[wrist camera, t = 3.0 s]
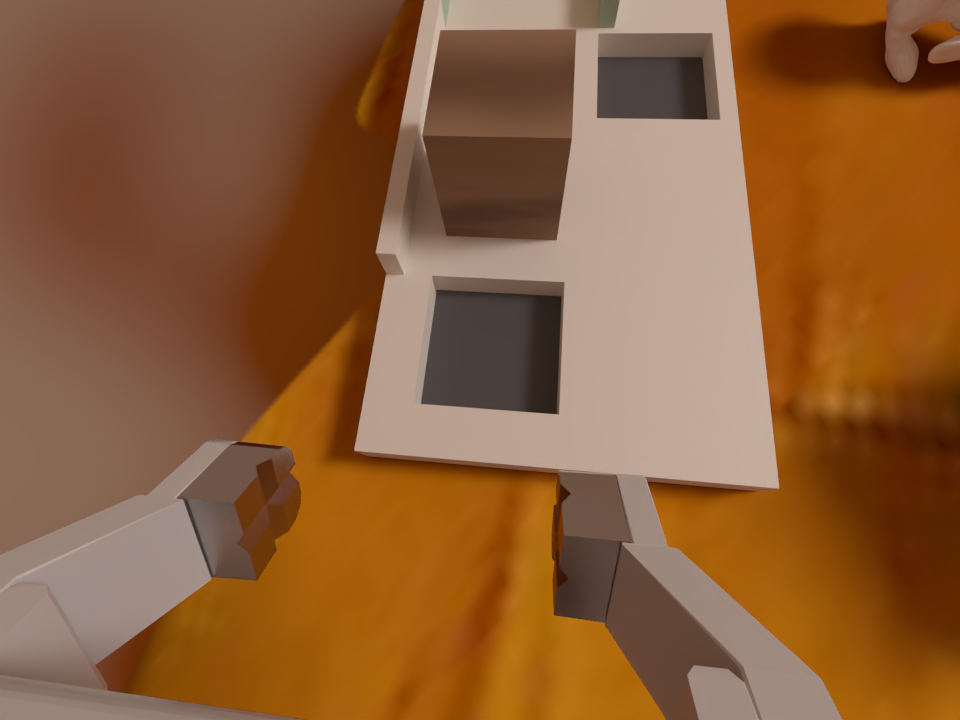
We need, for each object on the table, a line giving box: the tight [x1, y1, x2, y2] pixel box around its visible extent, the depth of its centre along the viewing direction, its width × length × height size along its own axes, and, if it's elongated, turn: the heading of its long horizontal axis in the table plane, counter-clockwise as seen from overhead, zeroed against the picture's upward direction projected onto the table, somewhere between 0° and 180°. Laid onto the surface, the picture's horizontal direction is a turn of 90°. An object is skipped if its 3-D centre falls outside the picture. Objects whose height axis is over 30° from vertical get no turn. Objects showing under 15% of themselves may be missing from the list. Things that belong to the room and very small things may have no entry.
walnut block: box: [422, 29, 576, 240], centre depth 23 cm, size 6×6×7 cm
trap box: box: [354, 0, 779, 491], centre depth 26 cm, size 36×19×5 cm, turn 174°
